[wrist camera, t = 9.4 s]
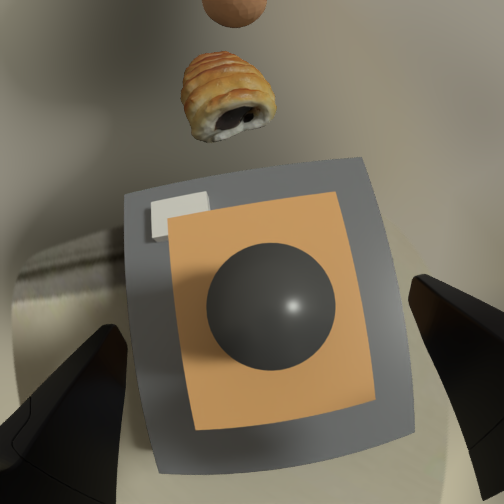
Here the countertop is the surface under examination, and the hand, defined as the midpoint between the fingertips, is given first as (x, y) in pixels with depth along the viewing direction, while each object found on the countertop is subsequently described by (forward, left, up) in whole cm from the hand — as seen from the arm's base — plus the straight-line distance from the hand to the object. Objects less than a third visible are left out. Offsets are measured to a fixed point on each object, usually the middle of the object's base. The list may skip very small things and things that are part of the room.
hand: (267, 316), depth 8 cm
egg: (+25, -15, -9) cm, 31 cm away
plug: (0, 0, -9) cm, 9 cm away
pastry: (+15, -7, -9) cm, 19 cm away
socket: (0, 0, -9) cm, 9 cm away
